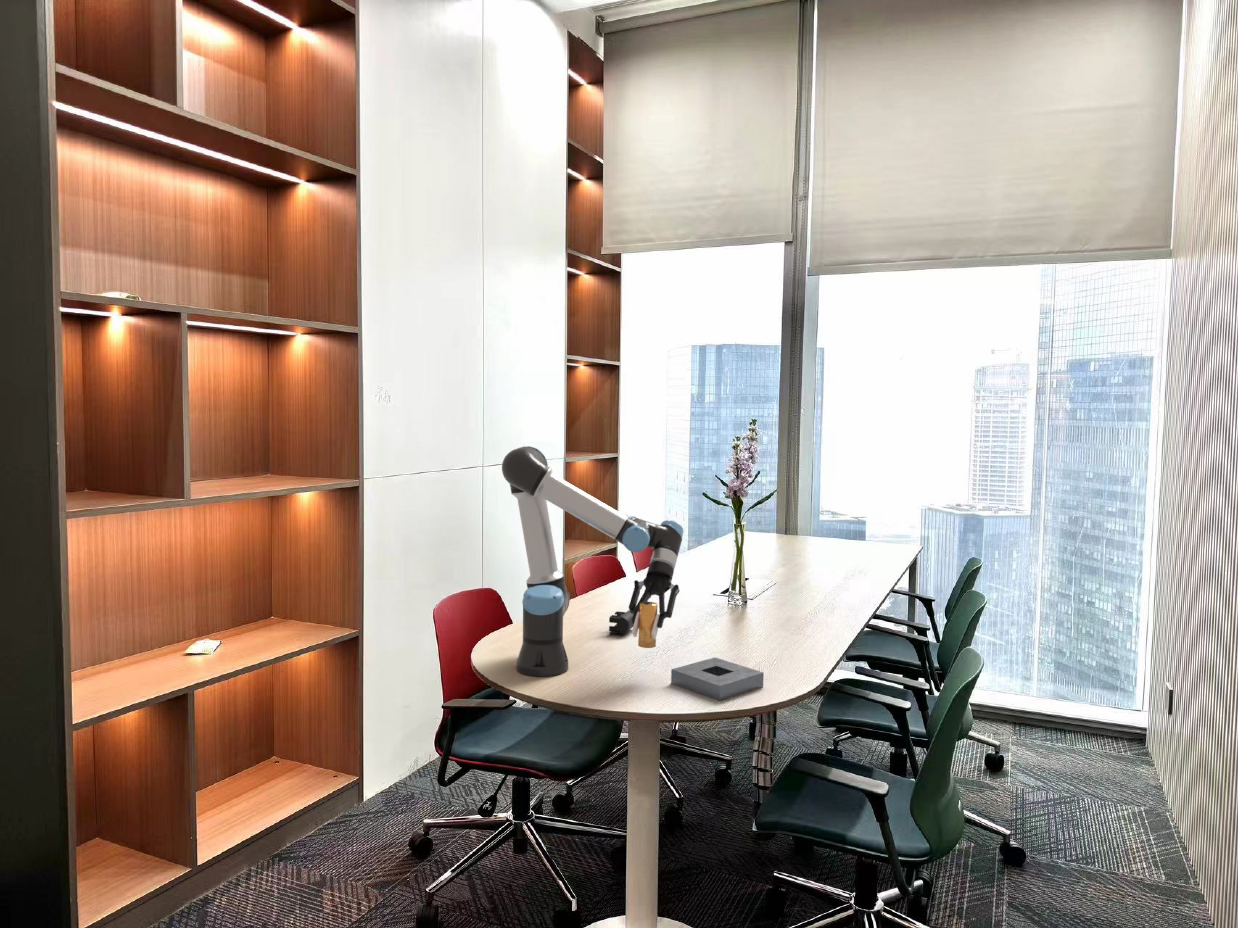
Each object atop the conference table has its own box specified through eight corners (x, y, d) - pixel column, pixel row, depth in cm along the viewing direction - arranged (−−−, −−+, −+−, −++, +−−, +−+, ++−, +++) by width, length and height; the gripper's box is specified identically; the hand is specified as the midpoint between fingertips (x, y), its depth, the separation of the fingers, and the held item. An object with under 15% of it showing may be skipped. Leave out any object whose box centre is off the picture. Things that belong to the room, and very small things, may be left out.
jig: (719, 700, 219) (720, 685, 218) (671, 683, 232) (671, 669, 232) (763, 686, 230) (763, 672, 230) (714, 670, 244) (714, 657, 244)
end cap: (628, 637, 279) (629, 617, 278) (608, 635, 281) (608, 615, 280) (636, 630, 288) (637, 610, 288) (617, 628, 290) (617, 608, 290)
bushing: (646, 648, 232) (648, 606, 232) (634, 644, 236) (636, 602, 235) (659, 646, 236) (661, 604, 235) (647, 641, 240) (648, 600, 239)
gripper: (693, 577, 247) (676, 646, 232) (635, 571, 252) (615, 638, 238) (689, 562, 241) (672, 632, 227) (630, 556, 247) (610, 624, 232)
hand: (643, 635), depth 232 cm, fingers closed on bushing, 5 cm apart
